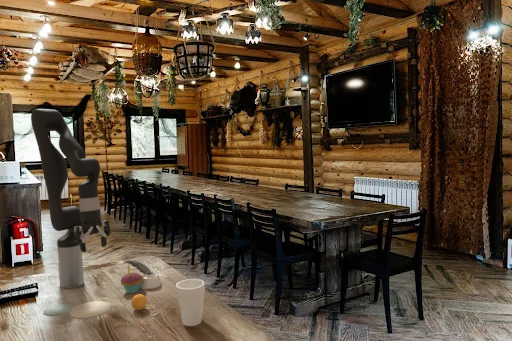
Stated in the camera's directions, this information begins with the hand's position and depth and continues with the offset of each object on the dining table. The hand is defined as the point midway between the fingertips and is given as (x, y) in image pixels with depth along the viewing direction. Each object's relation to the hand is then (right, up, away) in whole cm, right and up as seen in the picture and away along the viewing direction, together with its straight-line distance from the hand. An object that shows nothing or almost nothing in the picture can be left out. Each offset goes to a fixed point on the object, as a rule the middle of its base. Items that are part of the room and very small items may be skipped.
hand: (94, 249), depth 166 cm
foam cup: (+43, -19, -27) cm, 54 cm away
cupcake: (+15, -17, +2) cm, 23 cm away
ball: (+22, -16, -16) cm, 32 cm away
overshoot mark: (-7, -19, -14) cm, 25 cm away
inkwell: (+16, -17, +9) cm, 25 cm away
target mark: (+5, -19, -15) cm, 25 cm away
